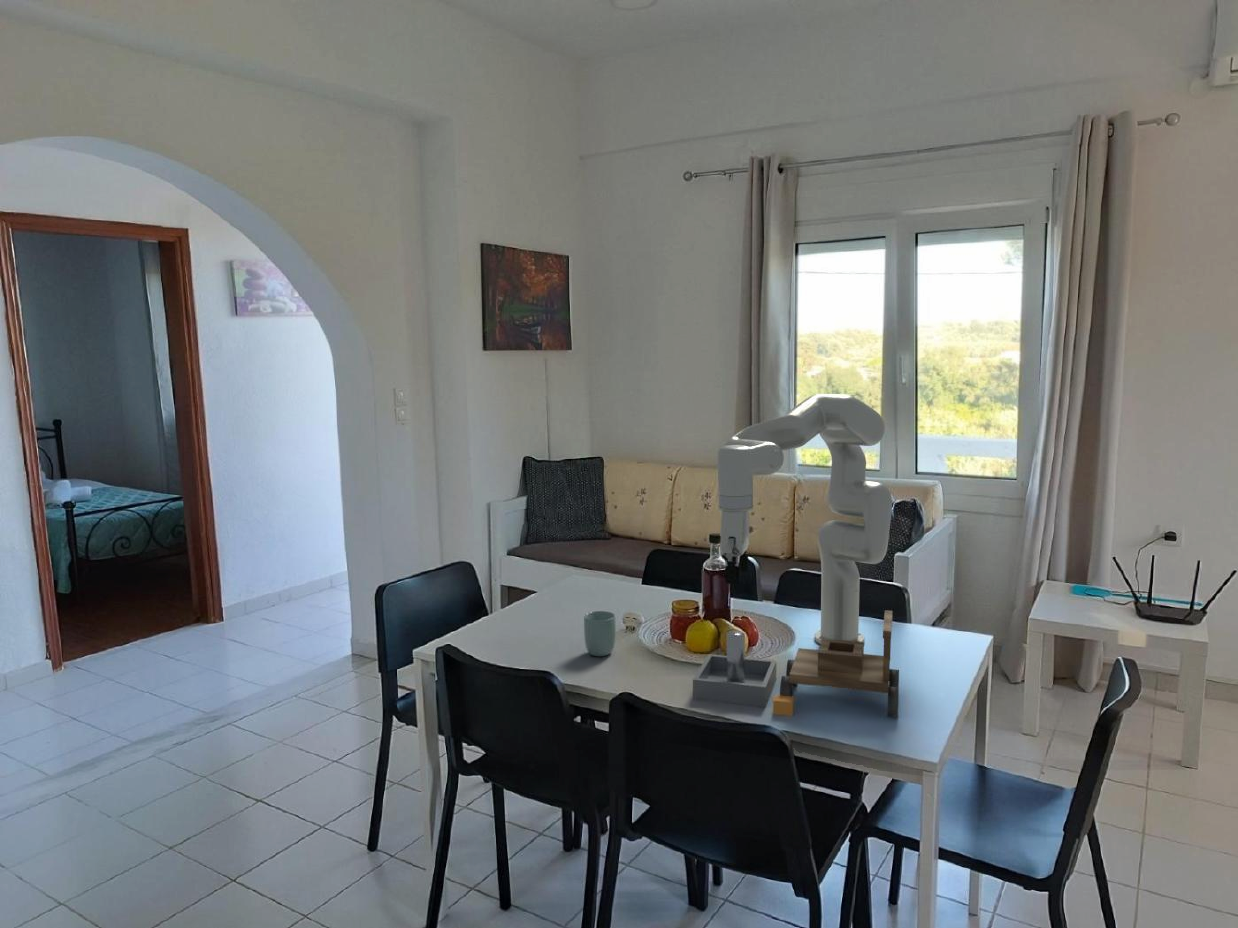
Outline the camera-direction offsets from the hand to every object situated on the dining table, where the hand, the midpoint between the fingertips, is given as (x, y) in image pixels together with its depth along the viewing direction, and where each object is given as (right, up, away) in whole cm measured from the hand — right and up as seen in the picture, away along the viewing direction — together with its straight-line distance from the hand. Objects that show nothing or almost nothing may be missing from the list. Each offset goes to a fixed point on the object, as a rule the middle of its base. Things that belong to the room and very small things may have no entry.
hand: (737, 577), depth 195 cm
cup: (-31, -23, +27) cm, 47 cm away
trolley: (+22, -26, -4) cm, 35 cm away
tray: (0, -26, +3) cm, 26 cm away
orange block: (+9, -27, -9) cm, 30 cm away
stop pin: (0, -25, +3) cm, 25 cm away
